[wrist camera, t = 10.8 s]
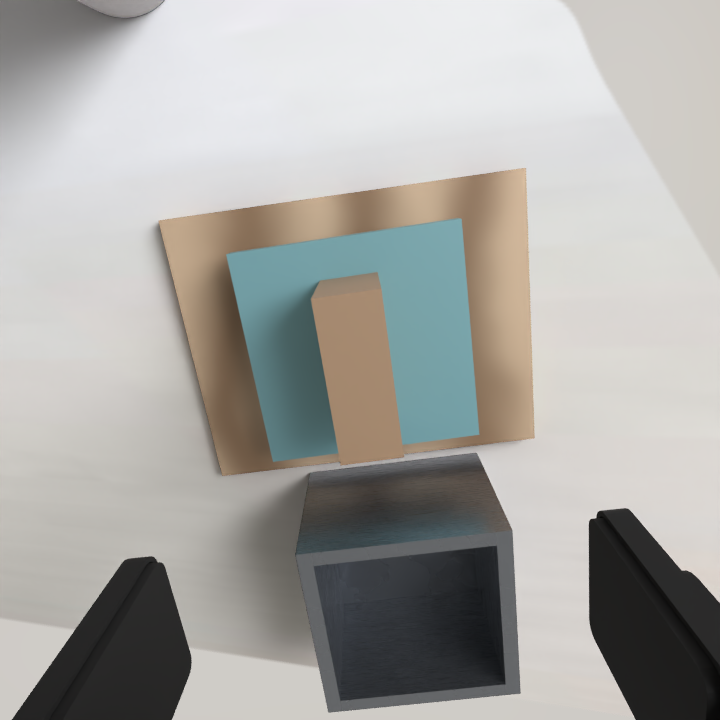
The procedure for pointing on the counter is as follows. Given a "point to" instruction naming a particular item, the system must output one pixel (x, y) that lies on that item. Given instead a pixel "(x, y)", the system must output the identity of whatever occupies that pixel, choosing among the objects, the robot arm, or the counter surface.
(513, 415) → the wooden board
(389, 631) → the tin
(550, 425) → the counter surface
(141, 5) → the coffee cup
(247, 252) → the lid
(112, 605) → the robot arm
